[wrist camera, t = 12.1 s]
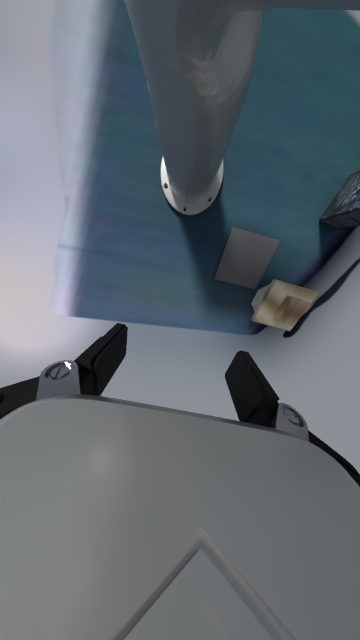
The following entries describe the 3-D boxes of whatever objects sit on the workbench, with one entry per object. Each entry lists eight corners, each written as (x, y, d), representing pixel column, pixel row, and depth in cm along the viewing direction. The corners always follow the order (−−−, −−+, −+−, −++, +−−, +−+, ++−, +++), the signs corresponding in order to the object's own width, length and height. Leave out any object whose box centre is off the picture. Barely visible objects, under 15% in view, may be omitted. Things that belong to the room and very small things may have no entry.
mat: (231, 227, 30) (232, 226, 29) (278, 240, 30) (280, 240, 30) (214, 278, 35) (214, 279, 34) (254, 289, 36) (255, 289, 35)
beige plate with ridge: (273, 278, 30) (289, 282, 25) (314, 291, 31) (337, 296, 26) (250, 319, 35) (260, 328, 30) (286, 328, 36) (302, 339, 31)
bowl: (263, 279, 34) (273, 282, 30) (296, 288, 35) (311, 292, 31) (246, 312, 39) (253, 318, 35) (276, 319, 39) (287, 326, 35)
